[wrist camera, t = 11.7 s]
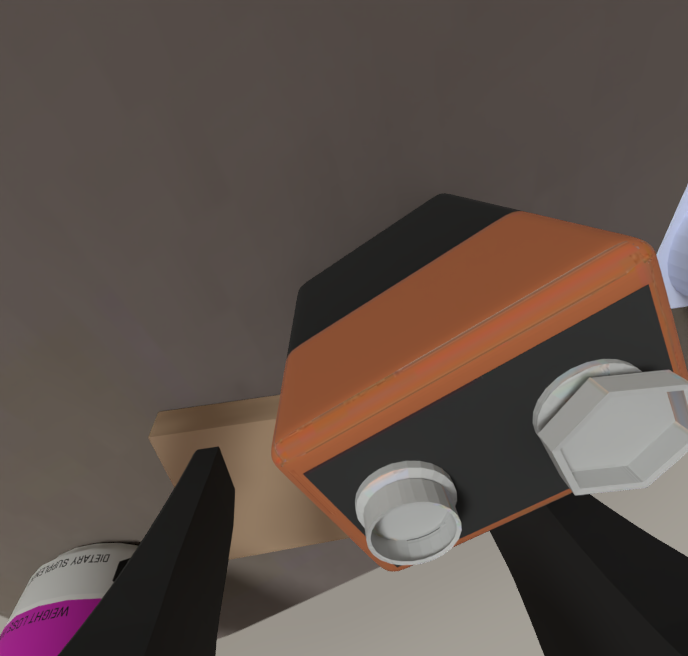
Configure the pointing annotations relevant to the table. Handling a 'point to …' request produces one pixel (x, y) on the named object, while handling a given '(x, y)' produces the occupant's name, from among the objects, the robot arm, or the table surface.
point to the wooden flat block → (245, 473)
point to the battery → (477, 376)
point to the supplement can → (62, 598)
